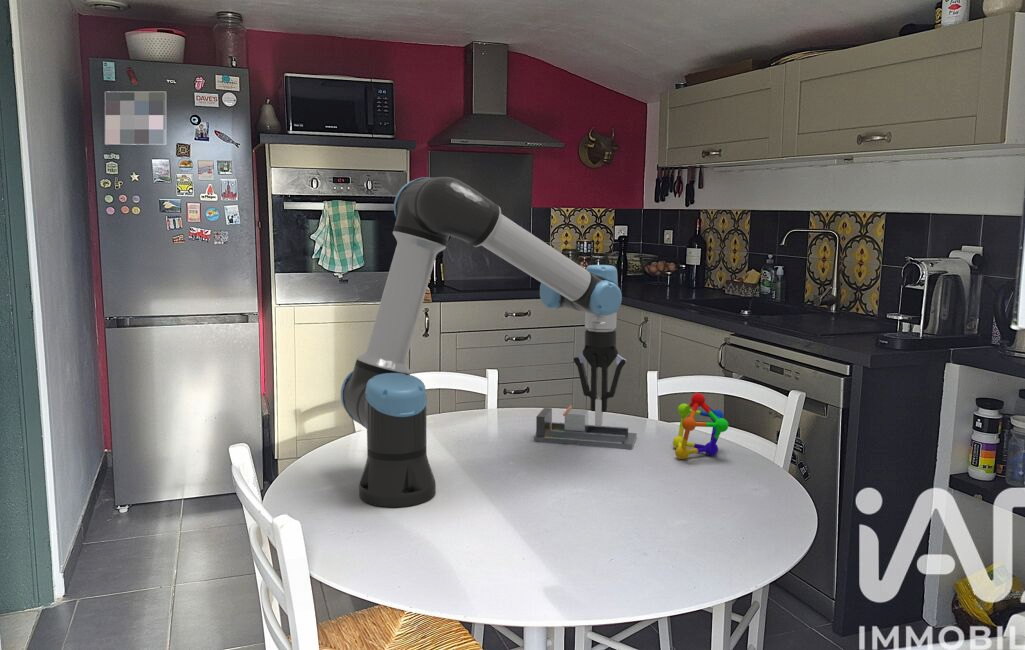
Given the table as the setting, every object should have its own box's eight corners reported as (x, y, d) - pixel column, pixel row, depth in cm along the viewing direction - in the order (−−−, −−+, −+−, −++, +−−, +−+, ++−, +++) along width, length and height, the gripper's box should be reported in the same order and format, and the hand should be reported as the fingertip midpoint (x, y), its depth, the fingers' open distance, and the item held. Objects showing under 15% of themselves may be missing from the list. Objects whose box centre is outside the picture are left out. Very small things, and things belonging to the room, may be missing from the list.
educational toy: (734, 467, 185) (740, 404, 181) (678, 468, 184) (682, 405, 180) (713, 441, 200) (718, 382, 196) (661, 442, 199) (665, 383, 195)
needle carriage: (562, 436, 198) (563, 414, 198) (569, 426, 207) (570, 405, 206) (583, 438, 197) (583, 415, 196) (589, 428, 206) (589, 406, 205)
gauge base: (533, 441, 200) (534, 416, 199) (542, 430, 210) (542, 407, 209) (632, 449, 194) (633, 424, 193) (636, 437, 204) (637, 413, 203)
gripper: (571, 330, 195) (569, 426, 199) (626, 332, 192) (623, 430, 196) (576, 326, 202) (575, 418, 206) (629, 328, 199) (627, 422, 203)
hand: (598, 424), depth 201 cm, fingers closed
